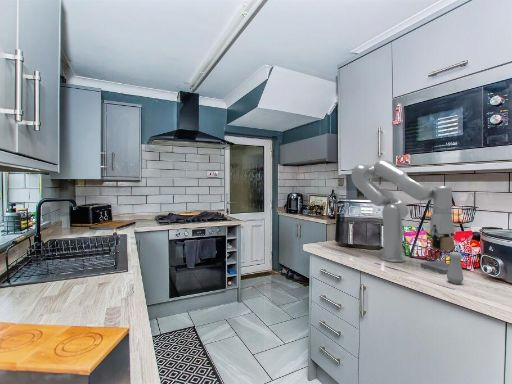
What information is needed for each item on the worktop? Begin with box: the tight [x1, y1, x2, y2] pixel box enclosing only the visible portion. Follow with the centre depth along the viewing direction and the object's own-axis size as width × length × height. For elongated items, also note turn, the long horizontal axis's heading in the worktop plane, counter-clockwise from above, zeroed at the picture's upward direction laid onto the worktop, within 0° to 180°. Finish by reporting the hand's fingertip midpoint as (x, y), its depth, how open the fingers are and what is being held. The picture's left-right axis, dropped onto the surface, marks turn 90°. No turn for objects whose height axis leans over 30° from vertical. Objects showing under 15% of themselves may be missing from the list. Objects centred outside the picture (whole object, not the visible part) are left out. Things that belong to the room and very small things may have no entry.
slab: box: [420, 260, 463, 275], centre depth 132 cm, size 12×12×2 cm
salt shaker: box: [446, 251, 465, 285], centre depth 114 cm, size 6×6×13 cm
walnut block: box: [430, 235, 455, 252], centre depth 131 cm, size 6×6×6 cm
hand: (442, 246), depth 132 cm, fingers closed on walnut block, 6 cm apart
